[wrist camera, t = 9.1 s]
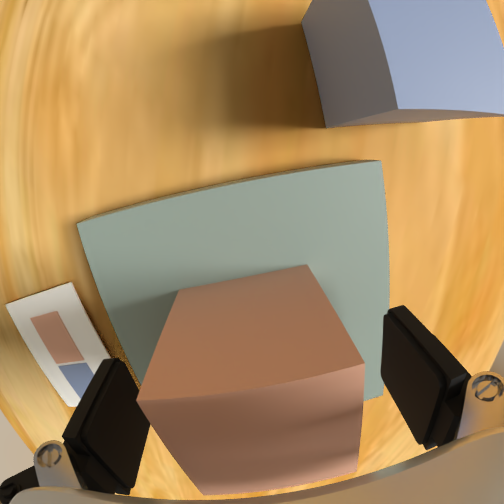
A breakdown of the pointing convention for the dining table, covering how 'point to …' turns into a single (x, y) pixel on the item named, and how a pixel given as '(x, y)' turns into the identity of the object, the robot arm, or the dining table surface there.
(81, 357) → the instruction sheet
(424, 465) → the robot arm
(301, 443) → the brick
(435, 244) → the dining table surface
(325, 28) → the brick
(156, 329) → the baseplate
